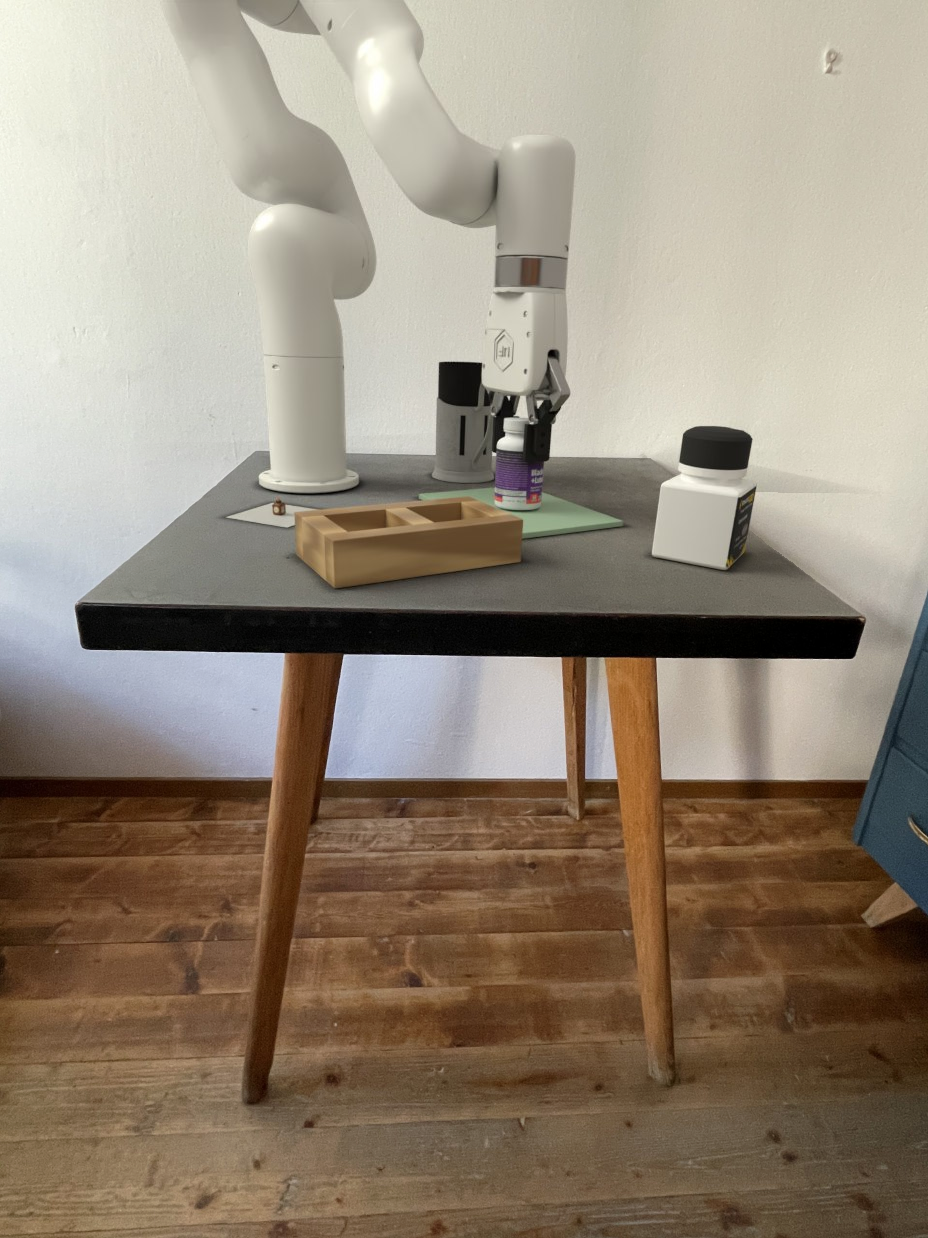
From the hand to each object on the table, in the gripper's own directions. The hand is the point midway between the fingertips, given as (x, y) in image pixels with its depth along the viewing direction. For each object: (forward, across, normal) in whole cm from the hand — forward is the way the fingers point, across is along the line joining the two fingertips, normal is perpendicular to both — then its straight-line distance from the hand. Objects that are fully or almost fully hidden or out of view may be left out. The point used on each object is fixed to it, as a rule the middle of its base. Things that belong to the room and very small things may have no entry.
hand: (519, 455), depth 82 cm
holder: (+6, +11, -19) cm, 23 cm away
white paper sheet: (+7, -9, -25) cm, 27 cm away
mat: (+6, 0, 0) cm, 6 cm away
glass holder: (+7, -18, +4) cm, 19 cm away
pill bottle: (+6, 0, 0) cm, 6 cm away
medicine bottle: (+7, +21, +7) cm, 23 cm away
